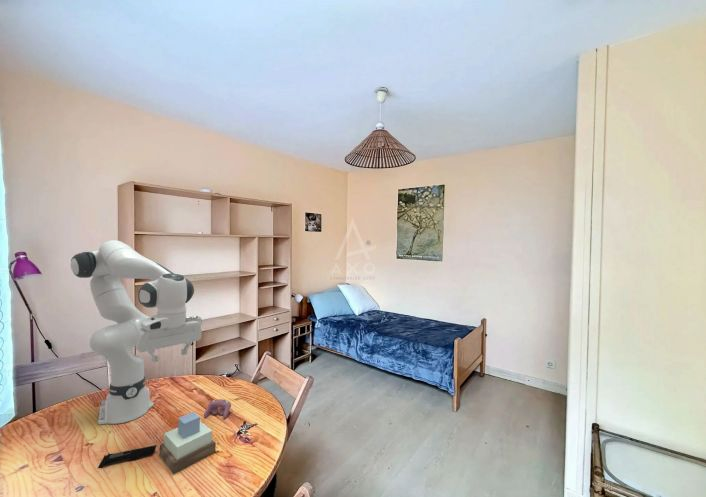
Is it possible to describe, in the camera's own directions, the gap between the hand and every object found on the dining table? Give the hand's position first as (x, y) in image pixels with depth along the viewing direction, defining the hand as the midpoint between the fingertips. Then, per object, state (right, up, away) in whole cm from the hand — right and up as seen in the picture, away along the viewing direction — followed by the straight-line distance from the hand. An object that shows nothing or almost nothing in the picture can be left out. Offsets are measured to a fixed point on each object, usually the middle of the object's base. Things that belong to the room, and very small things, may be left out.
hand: (169, 357), depth 104 cm
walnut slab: (+9, -32, -5) cm, 33 cm away
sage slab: (+9, -28, -4) cm, 30 cm away
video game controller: (+9, -32, +18) cm, 38 cm away
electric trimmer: (-9, -32, -7) cm, 34 cm away
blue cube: (+9, -24, -5) cm, 26 cm away
